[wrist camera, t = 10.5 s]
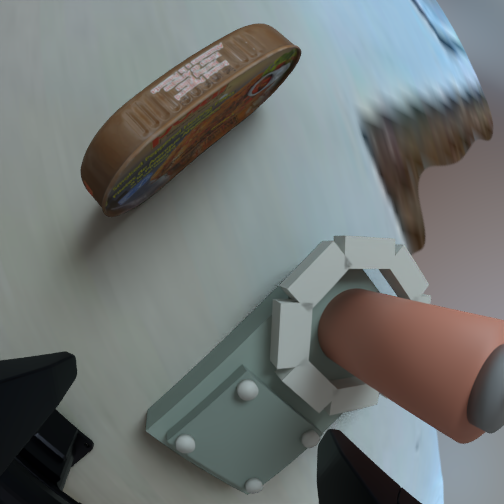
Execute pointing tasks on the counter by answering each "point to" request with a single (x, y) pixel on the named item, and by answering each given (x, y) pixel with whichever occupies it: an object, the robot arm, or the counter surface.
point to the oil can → (421, 358)
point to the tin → (184, 115)
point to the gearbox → (278, 370)
